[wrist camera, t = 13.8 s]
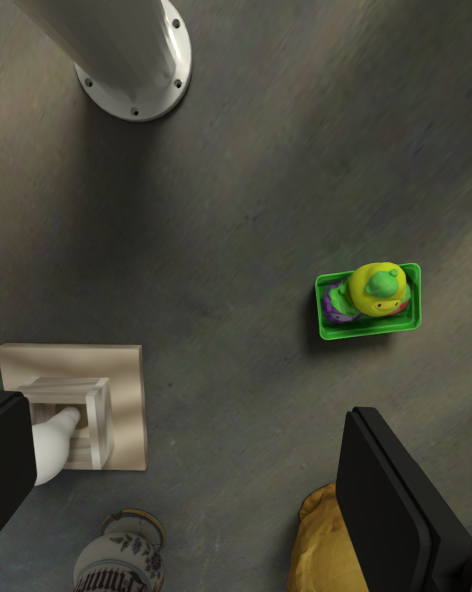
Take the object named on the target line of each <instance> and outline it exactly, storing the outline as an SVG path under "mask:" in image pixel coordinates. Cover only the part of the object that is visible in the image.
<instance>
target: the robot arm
mask: <svg viewBox="0 0 472 592" xmlns="http://www.w3.org/2000/svg"><path fill="white" fill-rule="evenodd" d="M12 1H13V2H14V3H15V4H16V5H17V6H18V7H19V8H20V9H21V10H22V11H23V12H24V13H25V14H26V15H27V16H28V17H29V18H30V19H31V20H32V21H33V22H34V23H36V24H37V25H38V26H39V27H40V28H41V29H42V30H43V31H44V32H45V33H46V34H47V35H48V36H49V37H50V38H51V39H52V40H53V41H54V42H55V43H56V44H57V45H58V46H59V47H60V48H61V49H62V50H63V51H64V52H65V53H66V54H67V55H68V56H69V57H70V58H71V59H72V60H73V61H74V66H75V69H76V72H77V75H78V78H79V80H80V82H81V84H82V86H83V88H84V89H85V91H86V92H87V93H88V95H89V96H90V97H91V99H92V100H93V101H94V102H95V103H97V104H98V105H99V106H100V107H101V108H102V109H104V110H105V111H106V112H108V113H109V114H111V115H113V116H115V117H117V118H119V119H122V120H126V121H130V122H145V121H151V120H154V119H157V118H159V117H162V116H163V115H165V114H166V113H168V112H169V111H171V110H172V109H173V108H174V107H175V106H176V105H177V104H178V102H179V101H180V100H181V98H182V97H183V95H184V94H185V91H186V89H187V87H188V85H189V82H190V78H191V74H192V65H193V54H192V45H191V41H190V37H189V34H188V31H187V28H186V25H185V23H184V21H183V19H182V17H181V16H180V14H179V12H178V11H177V9H176V8H175V7H174V6H173V5H172V3H171V2H170V1H169V0H12ZM176 27H179V28H178V29H176ZM91 84H93V85H92V86H91ZM178 85H181V87H180V88H177V86H178ZM90 86H91V87H90ZM136 112H139V114H138V115H137V116H135V113H136ZM36 480H37V466H36V457H35V449H34V440H33V431H32V423H31V414H30V405H29V400H28V398H27V397H24V395H23V393H22V392H20V391H3V390H1V391H0V531H1V530H2V529H3V527H4V526H5V525H6V523H7V522H8V521H9V519H10V518H11V517H12V515H13V514H14V513H15V511H16V510H17V509H18V507H19V506H20V505H21V503H22V502H23V501H24V499H25V498H26V497H27V495H28V494H29V493H30V491H31V490H32V489H33V487H34V485H35V483H36ZM335 493H336V500H337V503H338V506H339V509H340V511H341V514H342V517H343V520H344V523H345V525H346V528H347V531H348V534H349V537H350V540H351V542H352V545H353V548H354V551H355V554H356V557H357V559H358V562H359V565H360V568H361V571H362V573H363V576H364V579H365V582H366V585H367V588H368V590H369V592H472V537H471V536H470V534H469V533H468V532H467V530H466V529H465V528H464V526H463V525H462V523H461V522H460V521H459V519H458V518H457V517H456V515H455V514H454V513H453V511H452V510H451V509H450V507H449V506H448V504H447V503H446V502H445V500H444V499H443V498H442V496H441V495H440V494H439V492H438V491H437V489H436V488H435V487H434V485H433V484H432V483H431V481H430V480H429V479H428V477H427V476H426V475H425V473H424V472H423V470H422V469H421V468H420V466H419V465H418V464H417V463H416V462H415V460H414V459H412V457H411V456H410V454H409V453H408V452H407V450H406V449H405V448H404V446H403V445H402V444H401V442H400V441H399V439H398V438H397V437H396V435H395V434H394V433H393V431H392V430H391V428H390V427H389V426H388V424H387V423H386V422H385V420H384V419H383V418H382V416H381V415H380V413H379V412H378V411H377V409H375V408H373V407H354V408H353V410H352V412H350V411H348V412H347V414H346V419H345V425H344V432H343V439H342V445H341V452H340V459H339V466H338V472H337V479H336V486H335Z"/></svg>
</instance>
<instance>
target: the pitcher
mask: <svg viewBox="0 0 472 592" xmlns="http://www.w3.org/2000/svg"><path fill="white" fill-rule="evenodd" d="M335 486H336V483H330V484H329V485H326V486H324V487H322V488H321V489H318V490H316V492H314V493H312V495H311V496H309V497H307V498H306V500H305V501H304V505H303V507H302V508H301V510H300V513H299V516H300V517H299V519H300V525H299V529H298V533H297V537H296V540H295V544H294V547H293V550H292V553H291V564H290V566H291V569H290V571H289V577H288V580H287V582H286V584H287V591H288V592H369V590H368V588H367V585H366V582H365V579H364V576H363V573H362V571H361V568H360V565H359V562H358V559H357V557H356V554H355V551H354V548H353V545H352V542H351V540H350V537H349V534H348V531H347V528H346V525H345V523H344V520H343V517H342V514H341V511H340V509H339V506H338V503H337V500H336V493H335Z"/></svg>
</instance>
